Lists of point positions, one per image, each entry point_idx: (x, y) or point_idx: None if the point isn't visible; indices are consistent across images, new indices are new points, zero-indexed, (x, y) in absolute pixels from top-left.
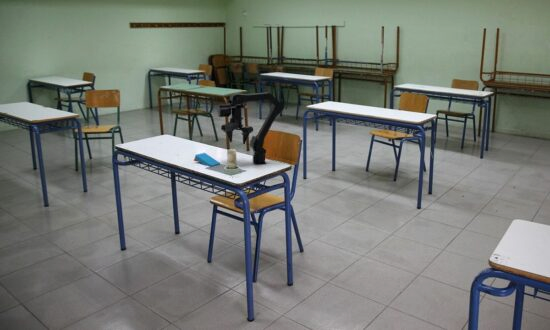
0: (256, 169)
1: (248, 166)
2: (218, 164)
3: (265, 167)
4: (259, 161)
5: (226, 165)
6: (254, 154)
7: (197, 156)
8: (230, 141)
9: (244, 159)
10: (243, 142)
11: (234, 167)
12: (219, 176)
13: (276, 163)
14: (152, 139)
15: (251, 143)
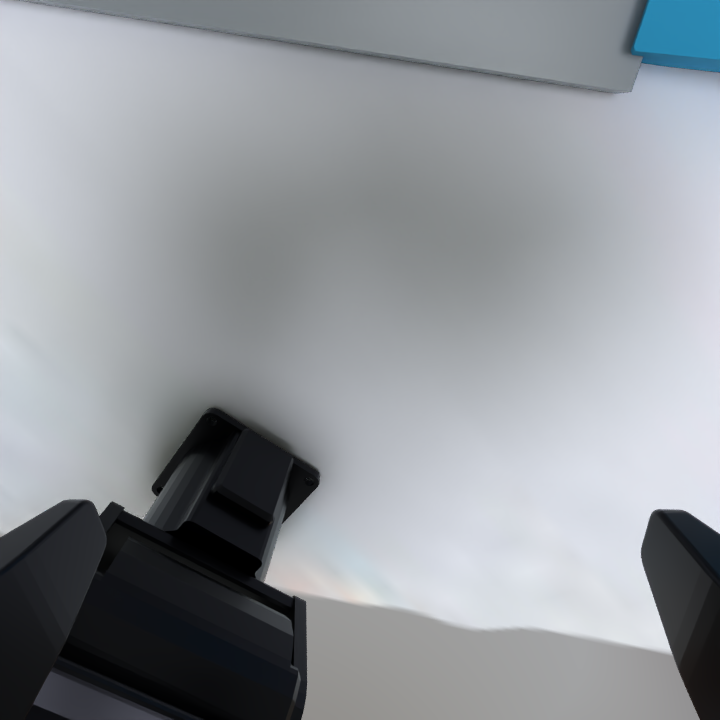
0: (42, 242)
1: (229, 304)
2: (647, 2)
3: (45, 371)
4: (183, 462)
5: (467, 56)
6: (216, 517)
7: None
8: (676, 531)
9: (481, 515)
10: (19, 536)
11: None
12: None
13: None
14: None
15: (192, 694)
